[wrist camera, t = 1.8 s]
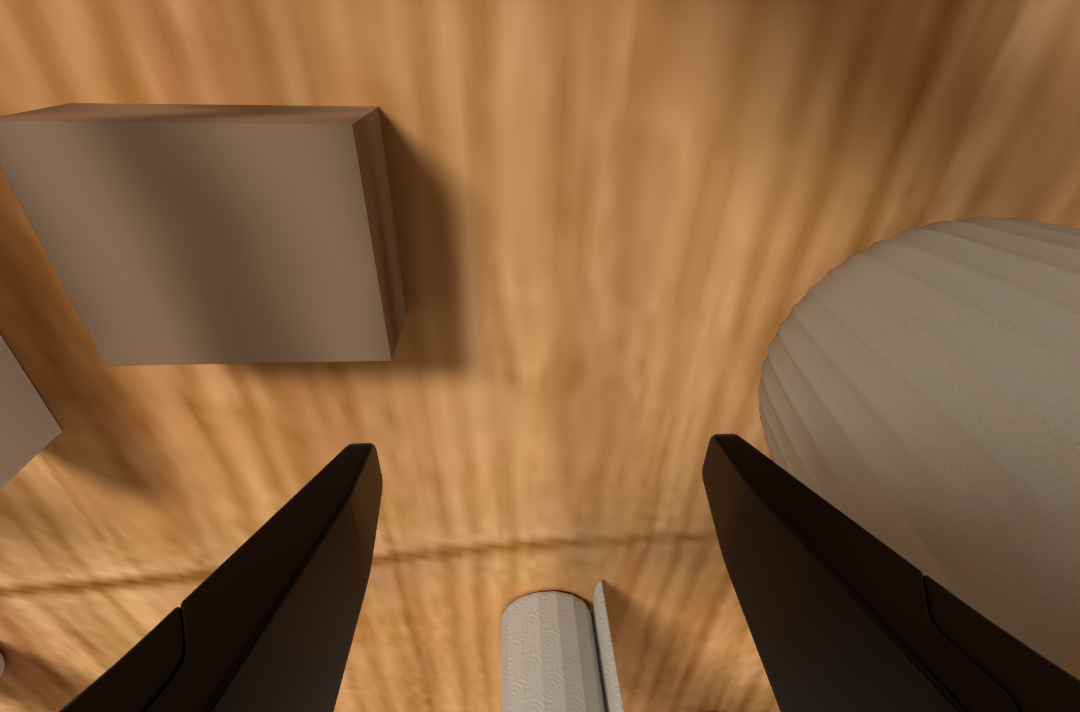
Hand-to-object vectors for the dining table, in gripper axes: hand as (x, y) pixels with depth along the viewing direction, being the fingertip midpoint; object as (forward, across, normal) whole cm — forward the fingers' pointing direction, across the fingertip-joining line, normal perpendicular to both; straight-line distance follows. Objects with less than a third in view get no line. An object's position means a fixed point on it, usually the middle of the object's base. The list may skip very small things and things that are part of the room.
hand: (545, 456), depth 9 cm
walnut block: (+13, +10, 0) cm, 17 cm away
